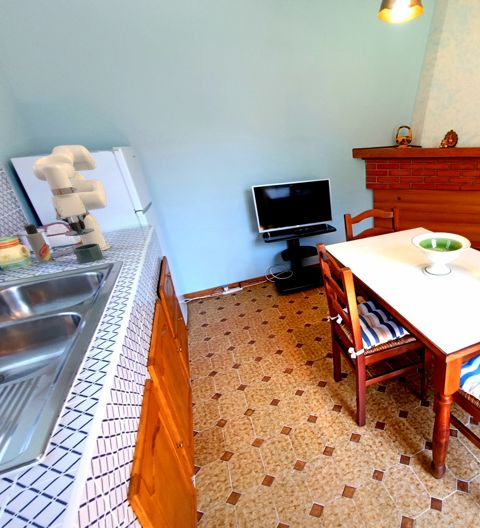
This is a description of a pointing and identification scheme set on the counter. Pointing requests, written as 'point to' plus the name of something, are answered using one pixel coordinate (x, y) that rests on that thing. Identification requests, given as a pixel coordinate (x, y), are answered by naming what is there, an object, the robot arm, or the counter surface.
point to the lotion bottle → (38, 244)
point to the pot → (88, 253)
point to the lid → (79, 230)
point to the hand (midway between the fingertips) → (78, 229)
